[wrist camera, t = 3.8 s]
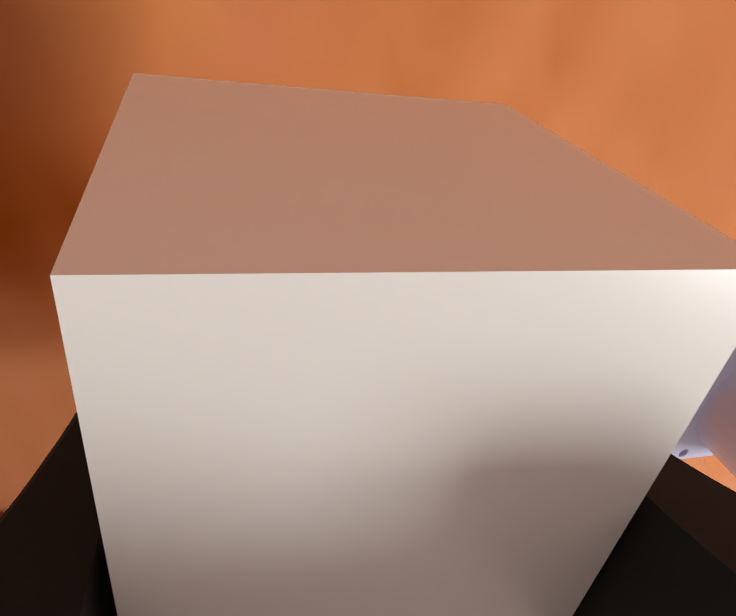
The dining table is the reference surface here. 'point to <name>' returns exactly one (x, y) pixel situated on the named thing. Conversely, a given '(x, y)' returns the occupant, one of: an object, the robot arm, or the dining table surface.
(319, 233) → the cream rectangular prism
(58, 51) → the dining table surface
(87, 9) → the dining table surface
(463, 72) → the dining table surface
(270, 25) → the dining table surface
